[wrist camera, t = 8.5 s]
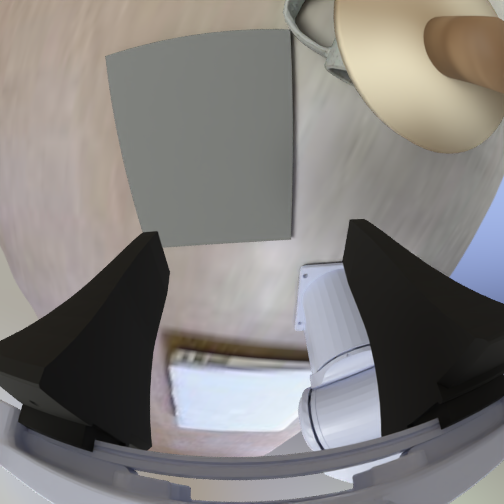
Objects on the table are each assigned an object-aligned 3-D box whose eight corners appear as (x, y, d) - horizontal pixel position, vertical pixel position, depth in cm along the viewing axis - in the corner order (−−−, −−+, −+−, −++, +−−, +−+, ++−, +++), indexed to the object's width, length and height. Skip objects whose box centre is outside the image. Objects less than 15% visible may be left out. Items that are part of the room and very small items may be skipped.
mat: (290, 236, 23) (290, 239, 23) (148, 245, 23) (147, 248, 23) (288, 30, 13) (290, 29, 13) (108, 56, 13) (105, 56, 13)
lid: (489, 161, 11) (538, 197, 7) (329, 134, 10) (370, 171, 7) (500, 3, 4) (554, 10, 1) (327, -75, 4) (363, -116, 1)
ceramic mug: (432, 27, 11) (503, 29, 5) (403, 112, 16) (468, 144, 10) (299, -39, 10) (329, -87, 3) (266, 56, 14) (278, 46, 8)
